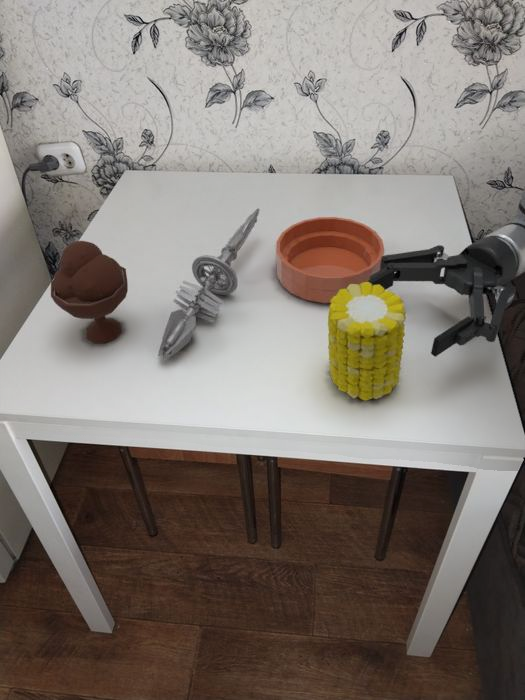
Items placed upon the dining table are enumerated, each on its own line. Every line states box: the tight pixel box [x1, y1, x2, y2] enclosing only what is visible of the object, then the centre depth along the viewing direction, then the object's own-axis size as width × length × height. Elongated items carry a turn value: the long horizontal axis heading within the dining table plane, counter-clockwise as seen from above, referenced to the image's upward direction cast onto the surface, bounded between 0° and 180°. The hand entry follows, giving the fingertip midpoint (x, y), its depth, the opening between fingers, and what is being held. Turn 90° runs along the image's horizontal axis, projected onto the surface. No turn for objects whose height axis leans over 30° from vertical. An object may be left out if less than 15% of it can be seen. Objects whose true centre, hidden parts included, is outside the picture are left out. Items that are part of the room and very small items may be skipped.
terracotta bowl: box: [275, 216, 385, 304], centre depth 97 cm, size 17×17×6 cm
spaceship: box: [157, 208, 261, 361], centre depth 93 cm, size 8×35×8 cm
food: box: [327, 282, 407, 402], centre depth 76 cm, size 15×12×10 cm
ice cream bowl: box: [50, 240, 129, 344], centre depth 85 cm, size 11×11×15 cm
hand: (394, 320), depth 78 cm, fingers open, 13 cm apart
